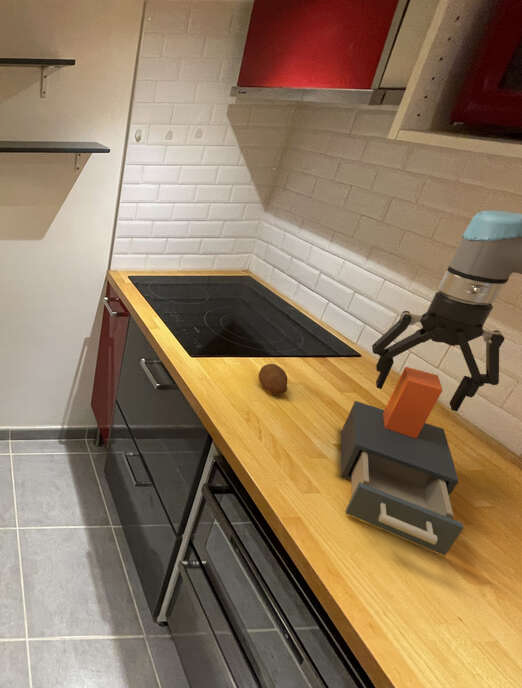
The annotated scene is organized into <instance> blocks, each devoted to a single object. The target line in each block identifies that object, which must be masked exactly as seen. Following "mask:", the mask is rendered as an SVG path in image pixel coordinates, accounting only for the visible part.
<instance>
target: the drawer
mask: <svg viewBox="0 0 522 688" xmlns="http://www.w3.org/2000/svg"><path fill="white" fill-rule="evenodd" d="M351 476H352V481H351V498H350V500H349V502H348V504H347V506H346V508H345V514H347V515H349V516H352V517H354V518H356V519H358V520H361V521H363V522H365V523H368V524H370V525H373V526H375V527H377V528H379V529H382V530H384V531H386V532H389V533H391V534H394V535H396V536H398V537H400V538H402V539H405V540H407V541H409V542H411V543H414V544H417V545H418V546H421V547H424V548H426V549H428V550H430V551H432V552H436V553H438V554H440V555H442V556H444V557H445V556H446V555H447V554H448V552H449V551H450V549H451V548H452V546H453V544H454V543H455V542H456V540H457V539H458V538H459V536H460V534H461V533H462V531H463V530H464V528H465V527H464V523H463V522H461V521H459V520H456V519H454V518H453V517H454V511H453V507H452V503H451V500H450V499H451V498H450V496H449V495H448V491H447V487H446V483H445V480H443V479H440V478H437V477H435V476H432V475H429V474H426V473H424V472H421V471H418V470H415V469H413V468H410V467H407V466H404V465H402V464H399V463H396V462H393V461H390V460H388V459H385V458H382V457H379V456H377V455H374V454H371V453H368V452H366V451H363V450H360V451H359V453H358V455H357V457H356V459H355V461H354V463H353V465H352V467H351Z"/></svg>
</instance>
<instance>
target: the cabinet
mask: <svg viewBox="0 0 522 688" xmlns="http://www.w3.org/2000/svg"><path fill="white" fill-rule="evenodd" d="M384 410H385V409H384V408H383V409H382V408H380V407H376V406H373V405H369V404H366V403H363V402H360V401H358V400H357V401H356V400H354V402H353V404H352V407H351V409H350V411H349V413H348V415H347V418H346V420H345V422H344V424H343V427H342V429H341V442H340V443H341V444H340V446H341V447H340V477H341V478H343V479H345V480H348V481H350V482H352V476H351V467H352V465H353V463H354V461H355V459H356V457H357V455H358V453H359V451H360V450H363V451H366V452H368V453H371V454H374V455H377V456H379V457H382V458H385V459H388V460H390V461H393V462H396V463H399V464H402V465H404V466H407V467H410V468H413V469H415V470H418V471H421V472H424V473H426V474H429V475H432V476H435V477H437V478H440V479H443V480H445V483H446V487H447V491H448V495H449V497H450V496H451V495H452V493H453V491H454V489H455V488H456V486H457V485H458V483H459V482H460V480H459V477H458V473H457V470H456V466H455V463H454V460H453V456H452V451H451V449H450V445H449V442H448V438H447V435H446V432H445V429H444V428H442V427H439V426H436V425H432V424H429V423H427V422H425V424H424V426H423V427H422V429H421V431H420V433H419V435H418V437H417V438H413V437H410V436H407V435H404V434H401V433H398V432H395V431H392V430H389V429H386V428H385V426H384V417H383V412H384Z"/></svg>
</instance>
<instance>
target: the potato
mask: <svg viewBox="0 0 522 688" xmlns="http://www.w3.org/2000/svg"><path fill="white" fill-rule="evenodd" d="M258 380H259V382H260V384H261V386H262V387H263V389H264V390H266V391H267V392H268V393H270V394H271V395H272V394H273V395H283V394H285V393H286V392H287V390H288V376H287V373H286V371H285V369H284V368H282V367H281V366H279V365H277V364H275V363H267V364H264V365H263V366H262V367H261V368H260V370H259V372H258Z"/></svg>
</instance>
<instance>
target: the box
mask: <svg viewBox="0 0 522 688" xmlns="http://www.w3.org/2000/svg"><path fill="white" fill-rule="evenodd" d="M442 393H443V387H442V383H441V380H440V378H439V375H438V374H435V373H431V372H427V371H424V370H420V369H416V368H412V367H408V366H405V367H404V368H403V370H402V373H401V375H400V377H399V378H398V380H397V383H396V385H395V387H394V389H393V391H392V394H391V395H390V396H389V397H390V398H389V400H388V402H387V403H386V405H385V407H384V409H383V410H384V412H383V417H384V426H385V428H386V429H389V430H392V431H395V432H398V433H401V434H404V435H407V436H410V437H413V438H417V437H418V435H419V433H420V431H421V429H422V427H423V426H424V424H425V423H427V420H428V418H429V417H430V415H431V413H432V411H433V409H434V407H435V405H436V404H437V402H438V400H439V398H440V396H441V394H442Z"/></svg>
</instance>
